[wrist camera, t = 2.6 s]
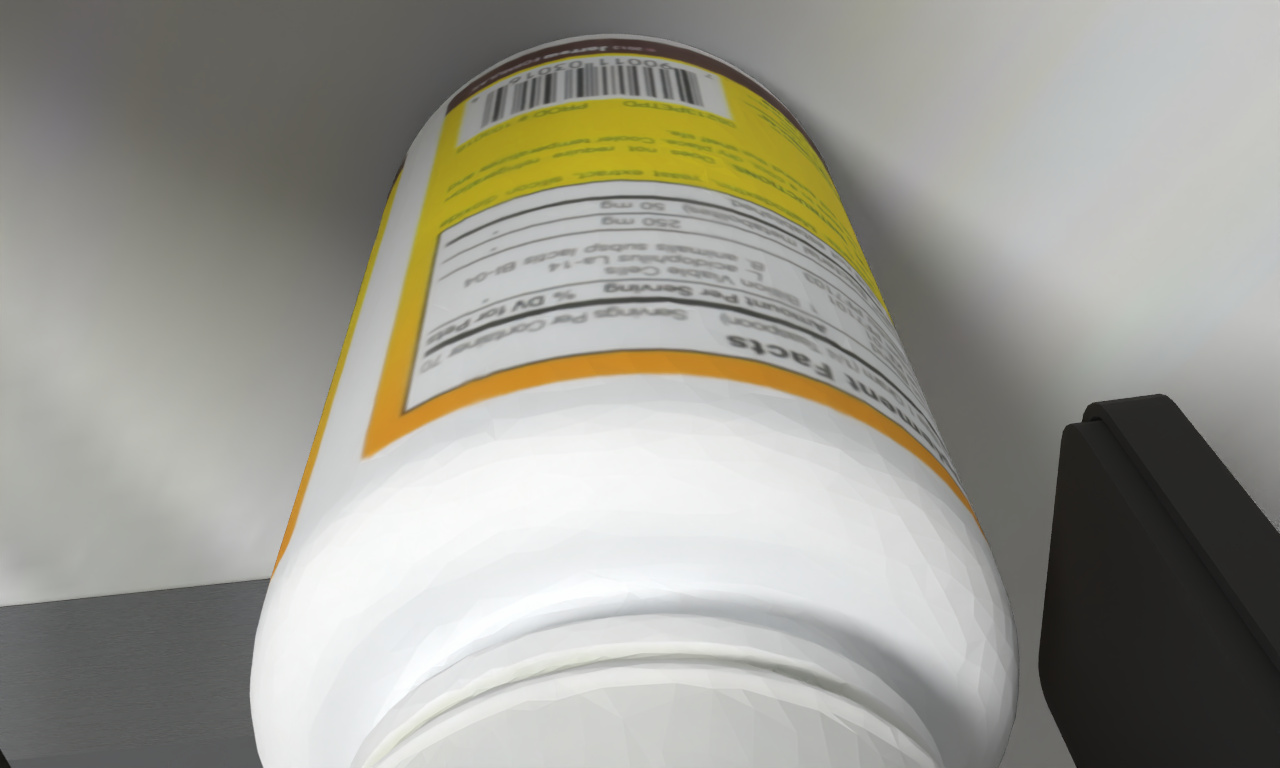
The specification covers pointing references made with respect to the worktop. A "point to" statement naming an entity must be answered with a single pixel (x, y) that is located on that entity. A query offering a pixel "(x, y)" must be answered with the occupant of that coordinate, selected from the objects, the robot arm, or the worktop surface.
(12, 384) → the worktop surface
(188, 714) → the dark grey divided tray
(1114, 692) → the robot arm
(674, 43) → the supplement bottle
